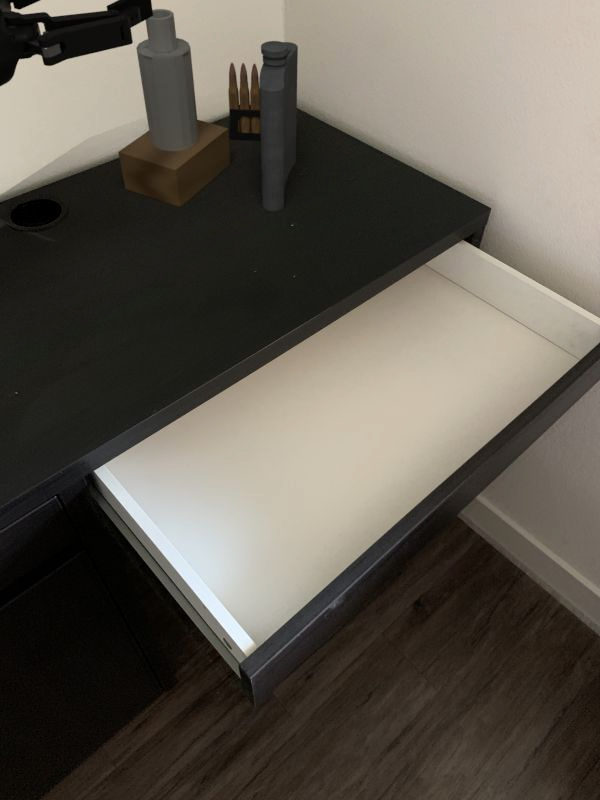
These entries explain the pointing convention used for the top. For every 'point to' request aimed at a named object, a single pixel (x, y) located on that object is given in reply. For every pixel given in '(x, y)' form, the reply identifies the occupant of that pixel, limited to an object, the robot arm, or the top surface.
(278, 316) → the top surface
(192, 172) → the plinth
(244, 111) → the ammunition clip
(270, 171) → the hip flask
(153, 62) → the bottle
